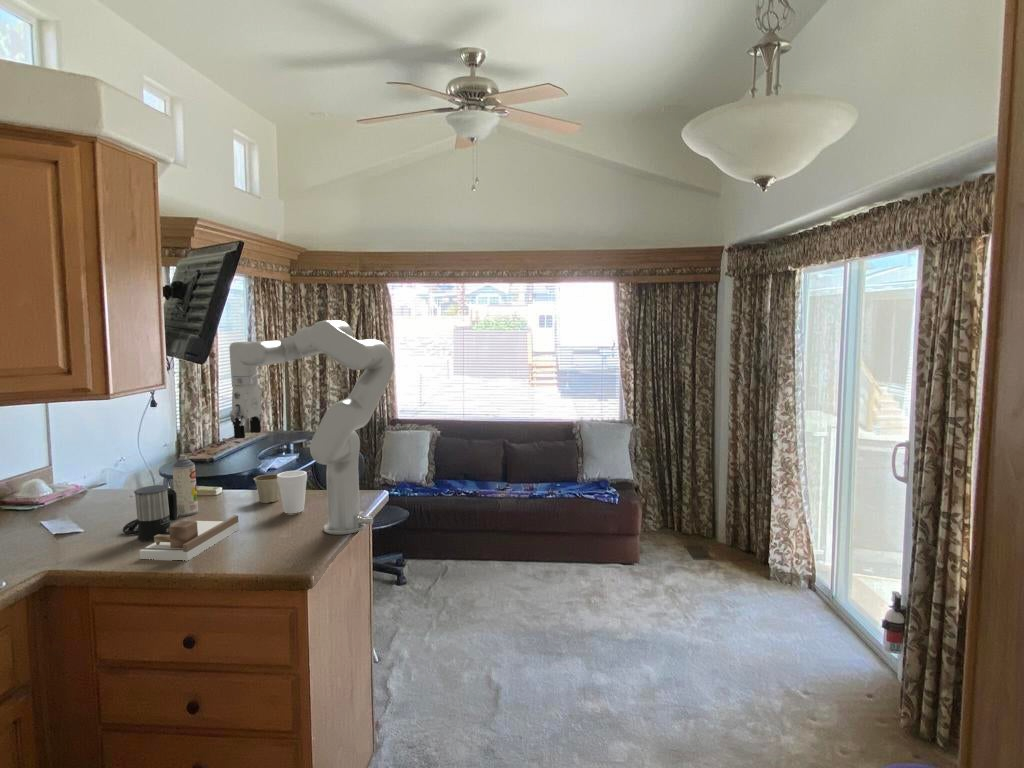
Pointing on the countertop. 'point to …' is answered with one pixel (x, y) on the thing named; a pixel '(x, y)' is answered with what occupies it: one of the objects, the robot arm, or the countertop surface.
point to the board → (193, 541)
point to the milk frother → (153, 512)
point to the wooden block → (179, 534)
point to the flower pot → (267, 488)
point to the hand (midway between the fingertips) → (248, 435)
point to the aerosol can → (185, 486)
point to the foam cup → (292, 490)
